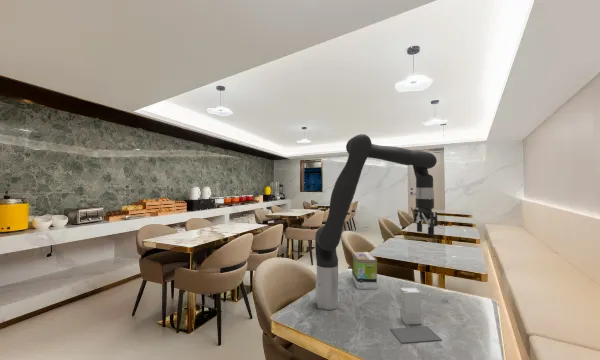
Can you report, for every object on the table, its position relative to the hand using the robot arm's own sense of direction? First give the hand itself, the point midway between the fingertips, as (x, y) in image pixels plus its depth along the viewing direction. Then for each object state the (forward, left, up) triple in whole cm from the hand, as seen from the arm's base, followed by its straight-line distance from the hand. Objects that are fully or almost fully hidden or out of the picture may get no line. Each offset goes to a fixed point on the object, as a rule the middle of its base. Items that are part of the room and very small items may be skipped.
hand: (425, 233), depth 115 cm
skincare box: (-17, -17, -30) cm, 38 cm away
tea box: (-21, +21, -30) cm, 42 cm away
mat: (-20, -25, -29) cm, 43 cm away
